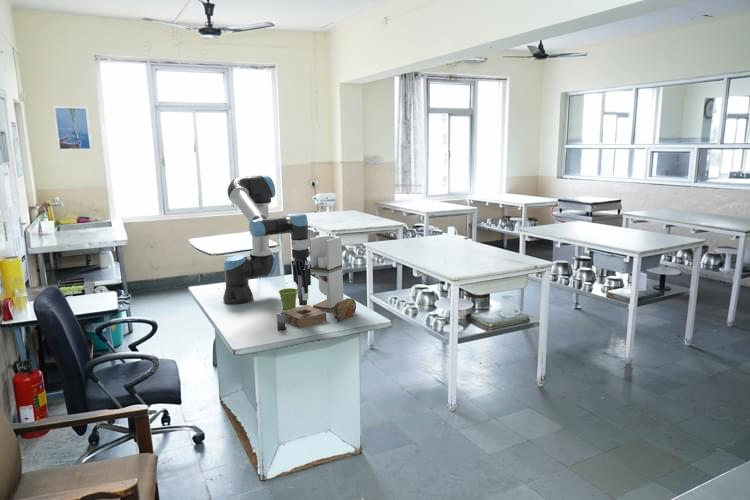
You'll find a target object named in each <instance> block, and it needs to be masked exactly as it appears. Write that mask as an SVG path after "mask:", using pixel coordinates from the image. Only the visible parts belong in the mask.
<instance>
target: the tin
mask: <svg viewBox="0 0 750 500" xmlns="http://www.w3.org/2000/svg"><path fill="white" fill-rule="evenodd" d="M356 310H357V303H356V300H355V299H354V298H349V297H347V298H345V299H344V300H343V301H340V302H338V303H337V304H336V305H335V306H334V311H333V317H334V319H335V320H336V321H341V322H342V321H345V320H347V319H349V318H350V317H353V316H354V315H355V313H356Z"/></svg>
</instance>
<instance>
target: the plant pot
mask: <svg viewBox="0 0 750 500" xmlns="http://www.w3.org/2000/svg"><path fill="white" fill-rule="evenodd" d="M278 293H279V295H280V300H281V304H282V308H283V309H284V310H289V309H293V308H296V306H297V305H296V304H297V288H293V287H291V288H290V287H289V288H283V289H280V290H279V291H278Z"/></svg>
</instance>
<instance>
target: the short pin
mask: <svg viewBox="0 0 750 500" xmlns="http://www.w3.org/2000/svg"><path fill="white" fill-rule="evenodd" d="M276 329H277V331H278V332H284V331H286V329H287V327H286V321H285V313H282V312H279V313H276Z"/></svg>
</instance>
